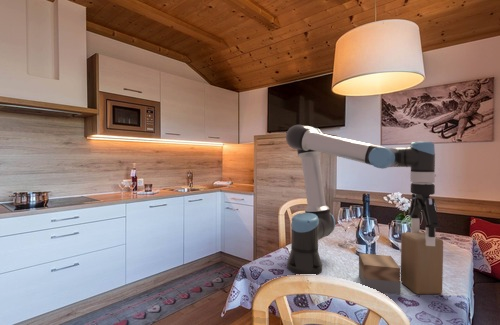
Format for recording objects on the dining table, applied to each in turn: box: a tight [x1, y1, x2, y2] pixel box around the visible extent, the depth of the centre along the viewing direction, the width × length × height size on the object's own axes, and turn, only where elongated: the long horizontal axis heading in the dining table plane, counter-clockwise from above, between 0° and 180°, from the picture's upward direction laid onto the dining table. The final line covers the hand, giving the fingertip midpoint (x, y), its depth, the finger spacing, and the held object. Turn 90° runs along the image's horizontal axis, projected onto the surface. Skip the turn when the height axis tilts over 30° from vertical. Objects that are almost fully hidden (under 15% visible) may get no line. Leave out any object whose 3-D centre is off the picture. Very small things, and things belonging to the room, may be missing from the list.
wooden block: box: [400, 231, 444, 295], centre depth 99 cm, size 10×10×20 cm
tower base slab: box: [358, 266, 402, 295], centre depth 102 cm, size 12×12×5 cm
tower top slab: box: [358, 252, 401, 282], centre depth 101 cm, size 12×12×5 cm
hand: (422, 239), depth 98 cm, fingers open, 13 cm apart
